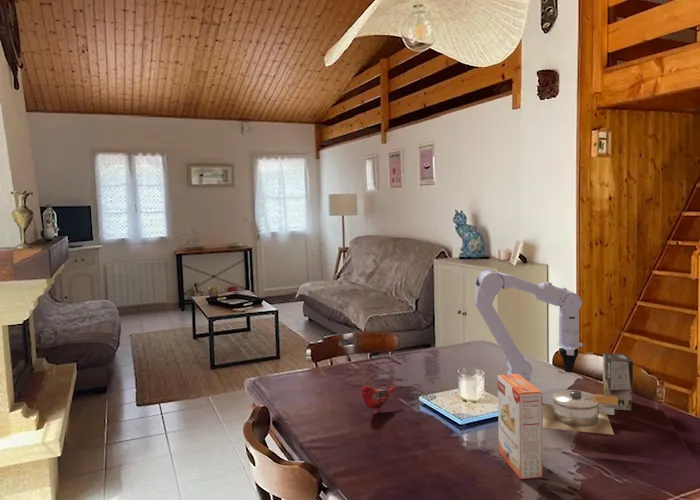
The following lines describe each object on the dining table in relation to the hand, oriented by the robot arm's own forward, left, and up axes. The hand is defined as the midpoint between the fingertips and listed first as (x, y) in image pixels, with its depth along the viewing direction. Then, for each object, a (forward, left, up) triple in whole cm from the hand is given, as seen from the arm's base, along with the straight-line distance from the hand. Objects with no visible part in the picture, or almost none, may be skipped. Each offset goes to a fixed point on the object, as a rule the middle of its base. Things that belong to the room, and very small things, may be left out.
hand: (568, 371), depth 171 cm
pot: (+3, -15, -9) cm, 18 cm away
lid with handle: (+3, -15, -4) cm, 16 cm away
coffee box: (+14, 0, -11) cm, 18 cm away
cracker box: (-14, -46, -11) cm, 49 cm away
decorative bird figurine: (-56, -21, -11) cm, 61 cm away
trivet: (+1, -15, -10) cm, 18 cm away
